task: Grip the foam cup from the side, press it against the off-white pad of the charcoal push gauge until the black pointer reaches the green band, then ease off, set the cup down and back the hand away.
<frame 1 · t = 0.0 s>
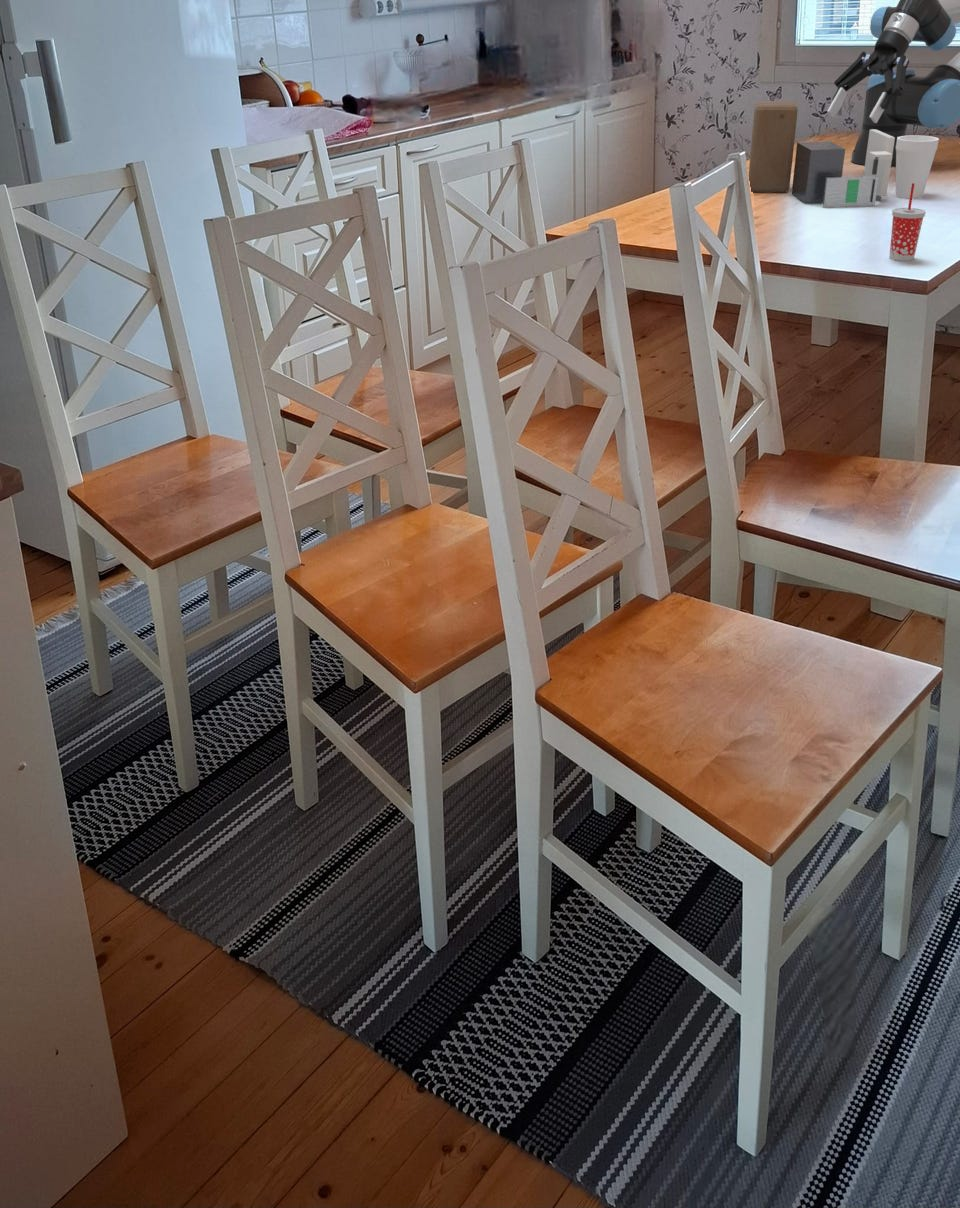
hand: (851, 117, 292), 15 cm above the table, tool tilted 35°, fingers open, 13 cm apart
beverage cup: (901, 259, 230), on the table
wooden block: (767, 190, 293), on the table
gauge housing: (876, 196, 282), on the table
foam cup: (908, 196, 282), on the table
gauge slider: (872, 164, 276), point 8 cm above the table, slide at 0.0 cm
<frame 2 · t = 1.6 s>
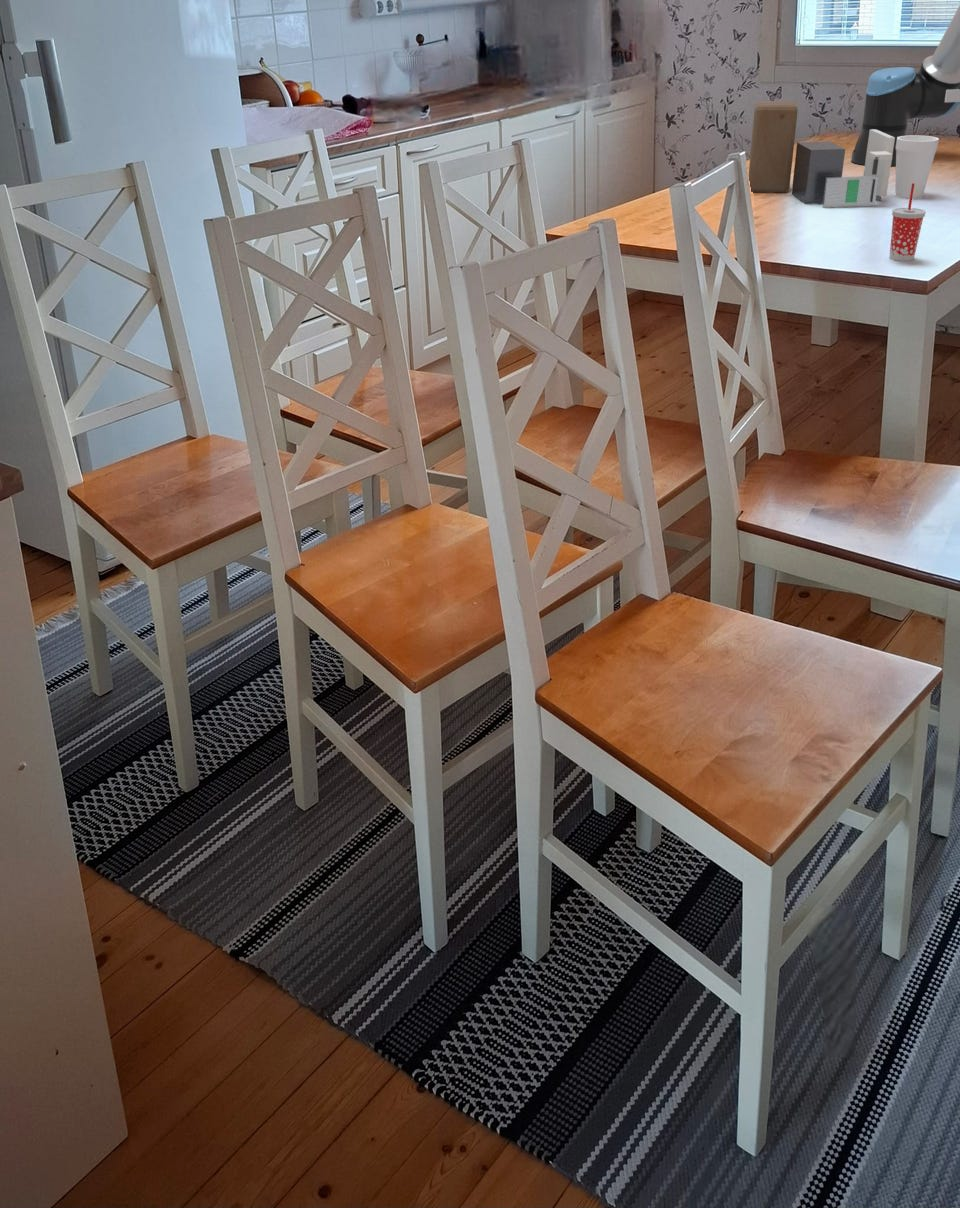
hand: (956, 98, 272), 21 cm above the table, tool horizontal, fingers open, 13 cm apart
nothing on the table moved.
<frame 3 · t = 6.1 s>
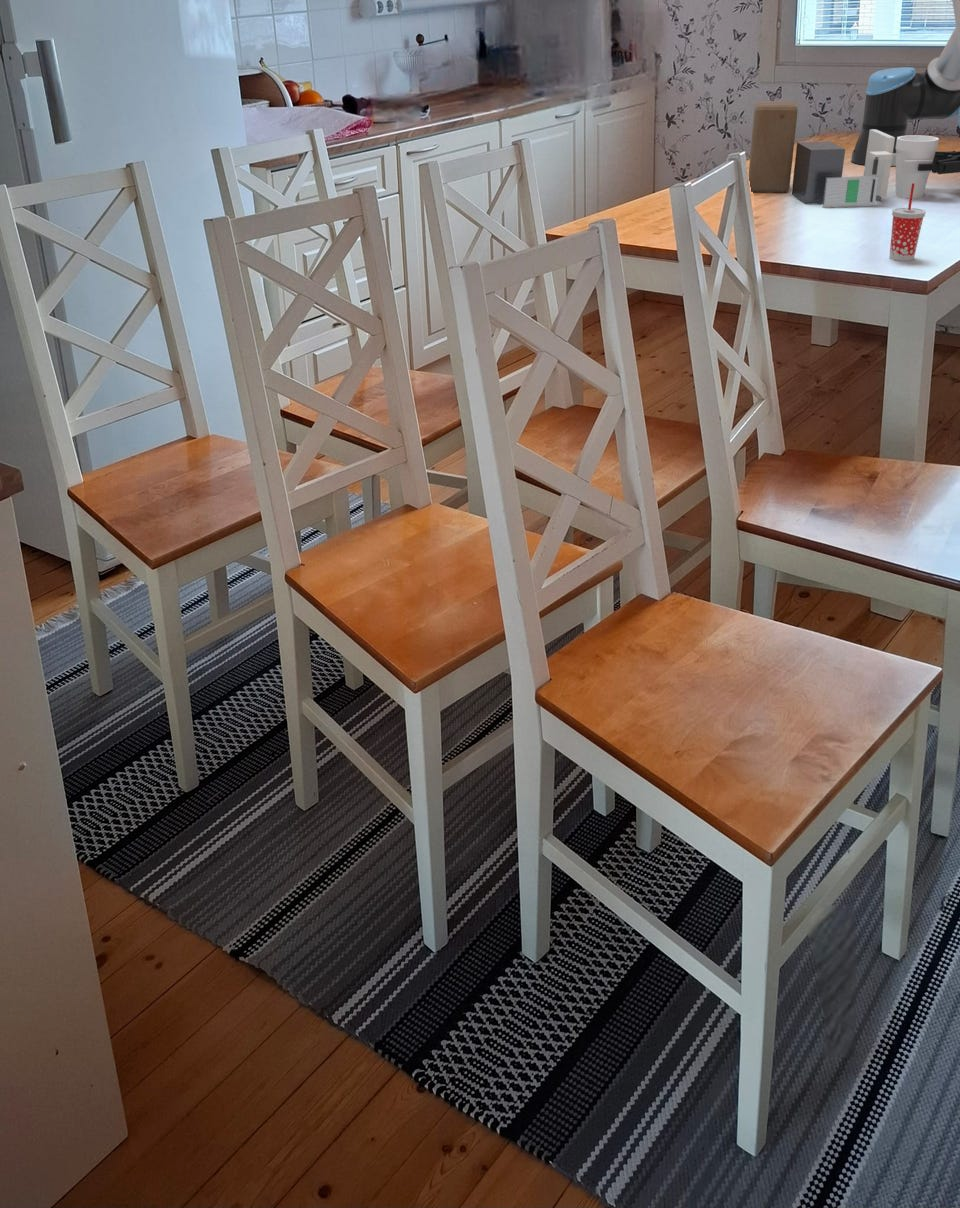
hand: (895, 163, 278), 8 cm above the table, tool horizontal, fingers closed on foam cup, 9 cm apart
foam cup: (908, 196, 282), on the table, touching gripper
everything else where it was.
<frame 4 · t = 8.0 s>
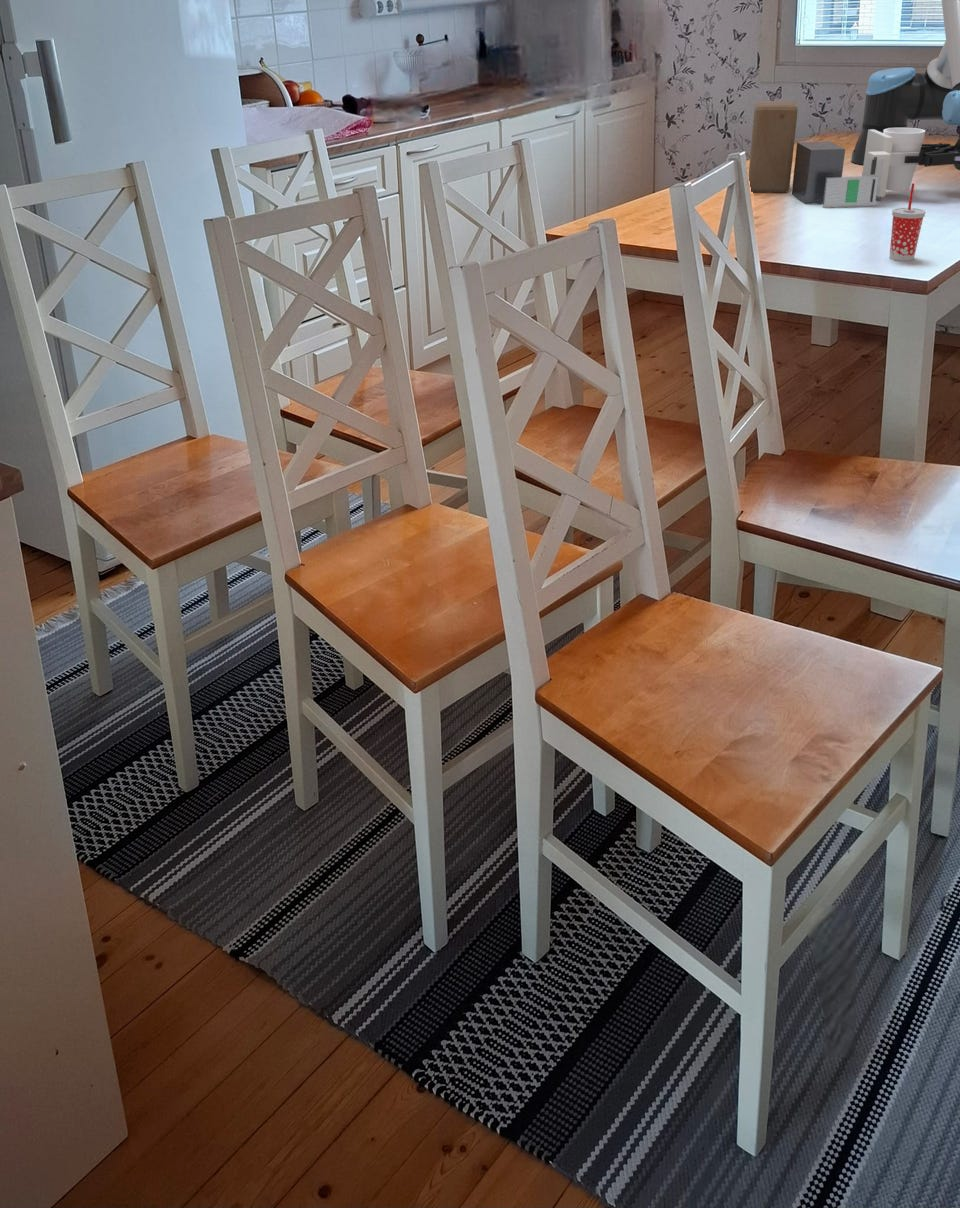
hand: (882, 155, 277), 9 cm above the table, tool horizontal, fingers closed on foam cup, 9 cm apart
foam cup: (895, 189, 281), point 2 cm above the table, touching gripper
gauge slider: (870, 164, 276), point 8 cm above the table, slide at 0.4 cm, touching gripper
everything else where it was.
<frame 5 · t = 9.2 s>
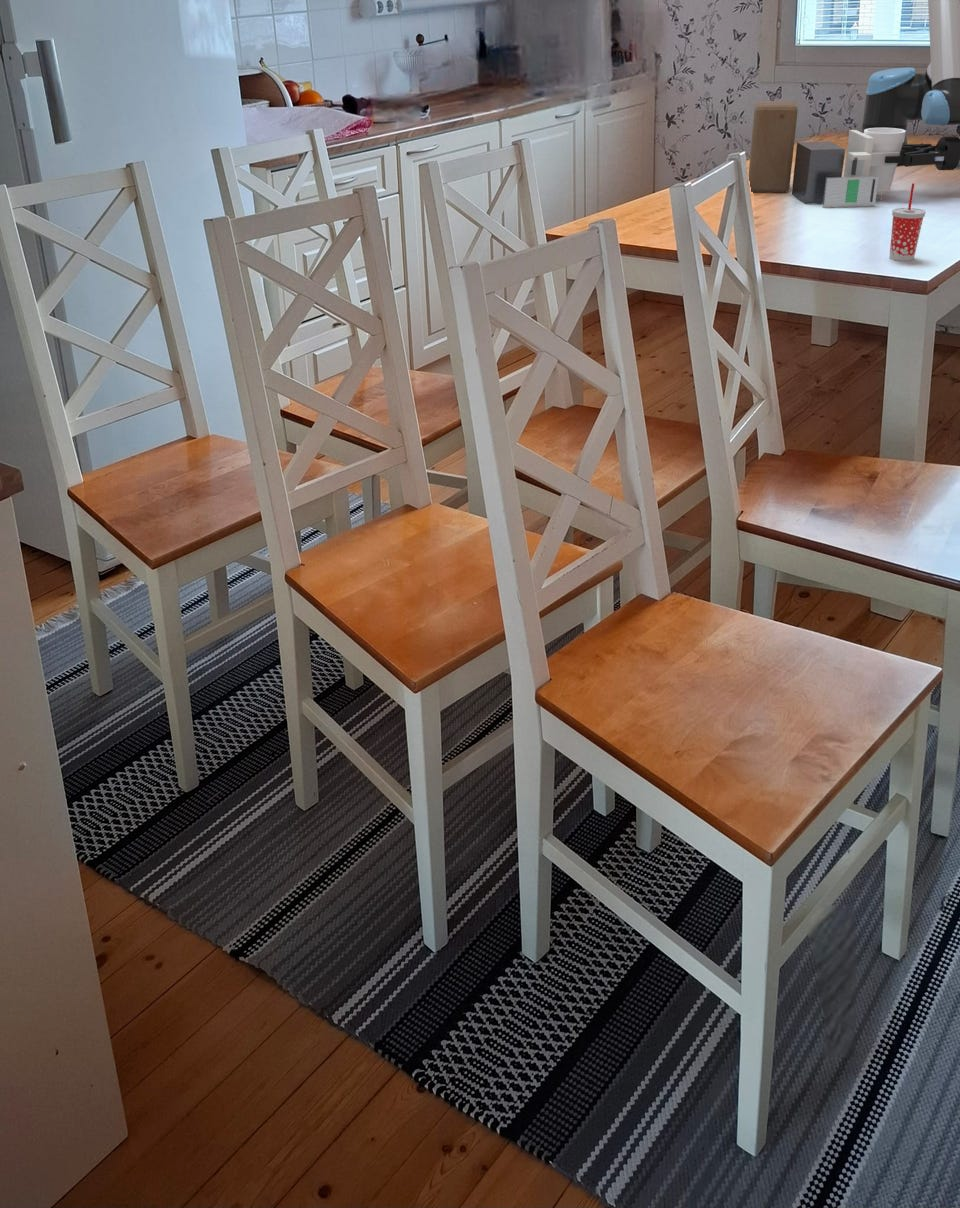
hand: (863, 155, 277), 9 cm above the table, tool horizontal, fingers closed on foam cup, 9 cm apart
foam cup: (876, 189, 281), point 2 cm above the table, touching gauge slider, gripper
gauge slider: (852, 164, 276), point 8 cm above the table, slide at 4.9 cm, touching foam cup
everything else where it was.
when the fingers open (8 cm above the table, at t = 11.8 s): foam cup stays where it is, on the table.
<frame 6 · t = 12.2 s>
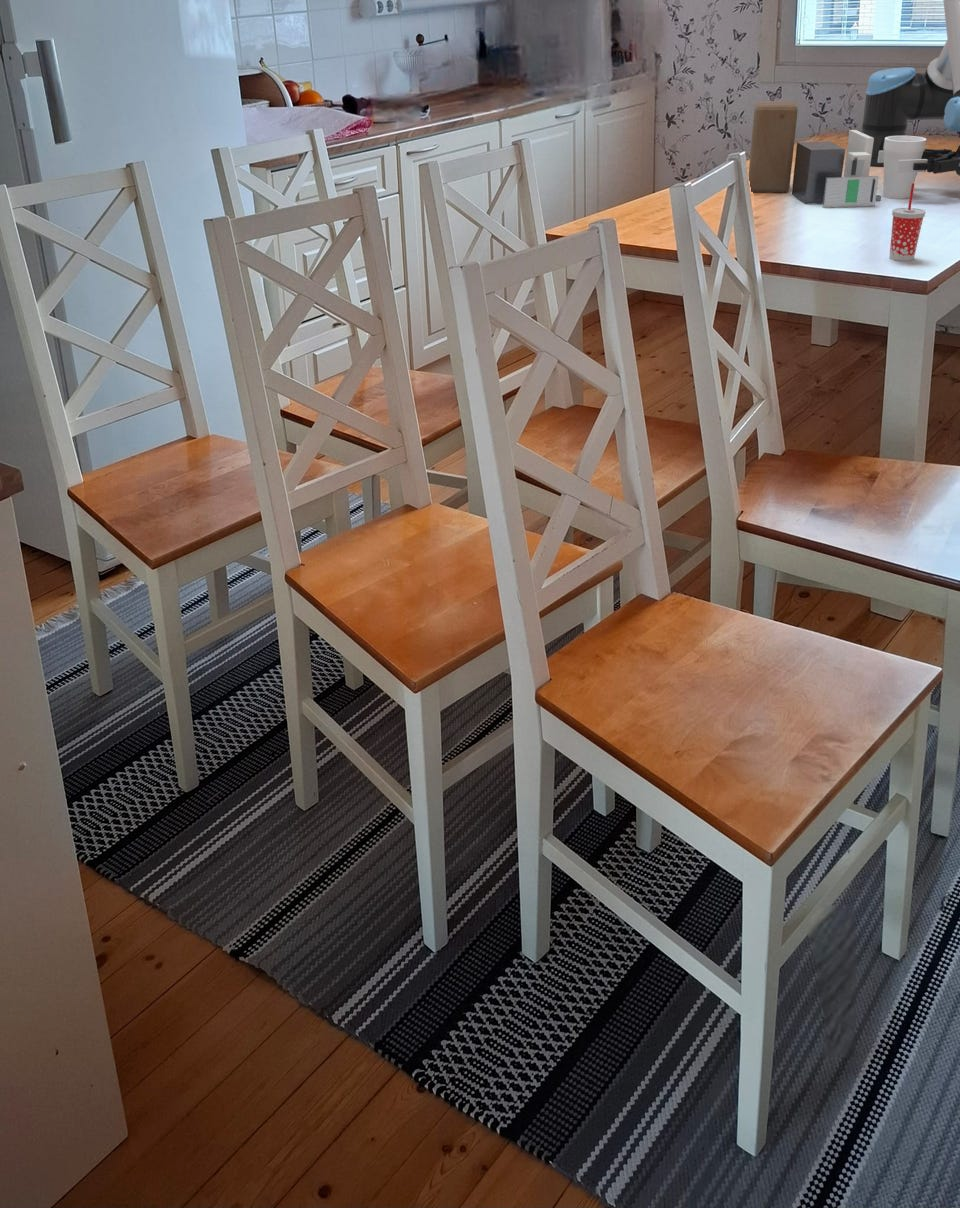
hand: (888, 161, 278), 8 cm above the table, tool horizontal, fingers open, 13 cm apart
foam cup: (896, 196, 282), on the table
gauge slider: (851, 164, 276), point 8 cm above the table, slide at 4.9 cm
everything else where it was.
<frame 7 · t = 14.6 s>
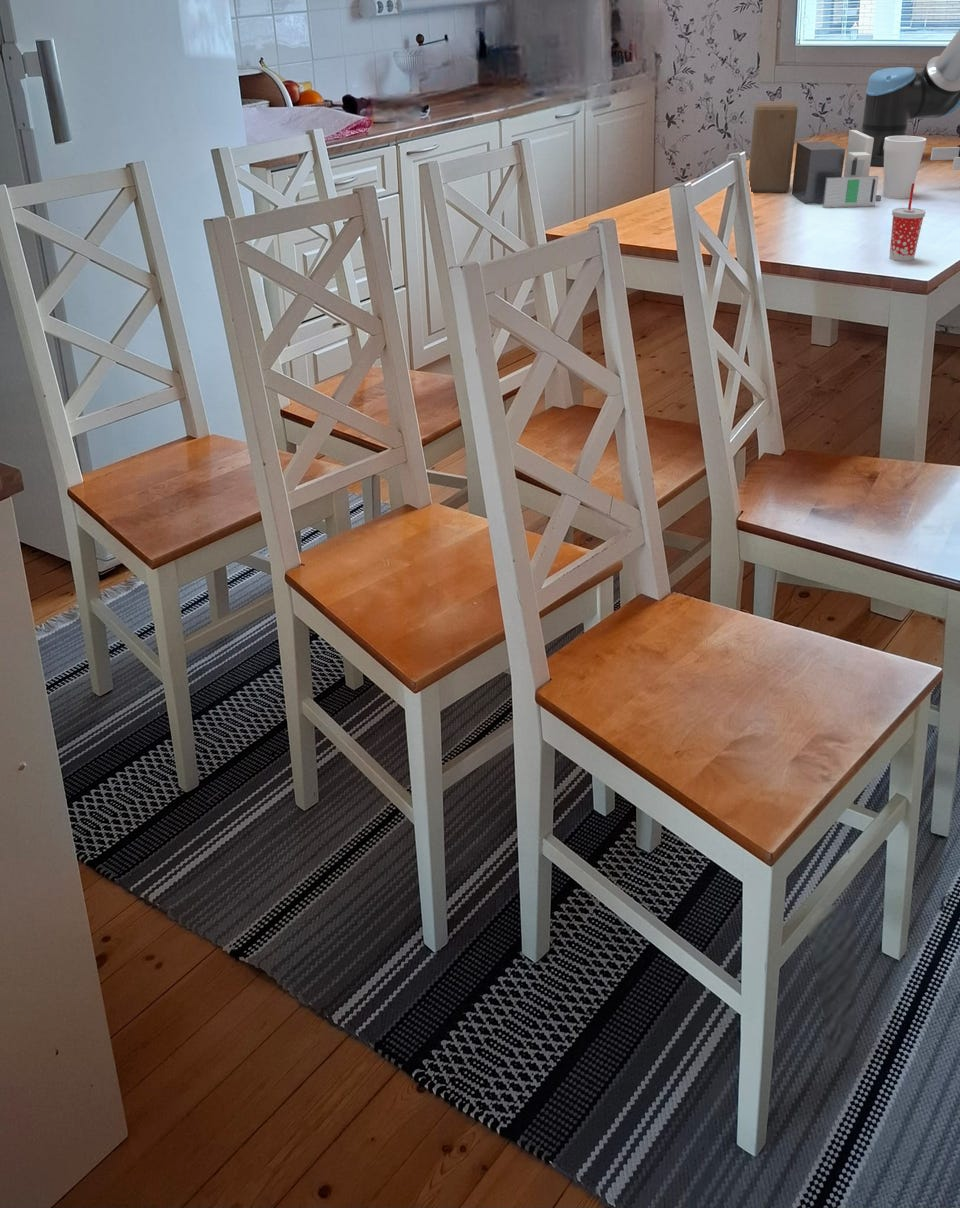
hand: (942, 158, 278), 8 cm above the table, tool horizontal, fingers open, 13 cm apart
nothing on the table moved.
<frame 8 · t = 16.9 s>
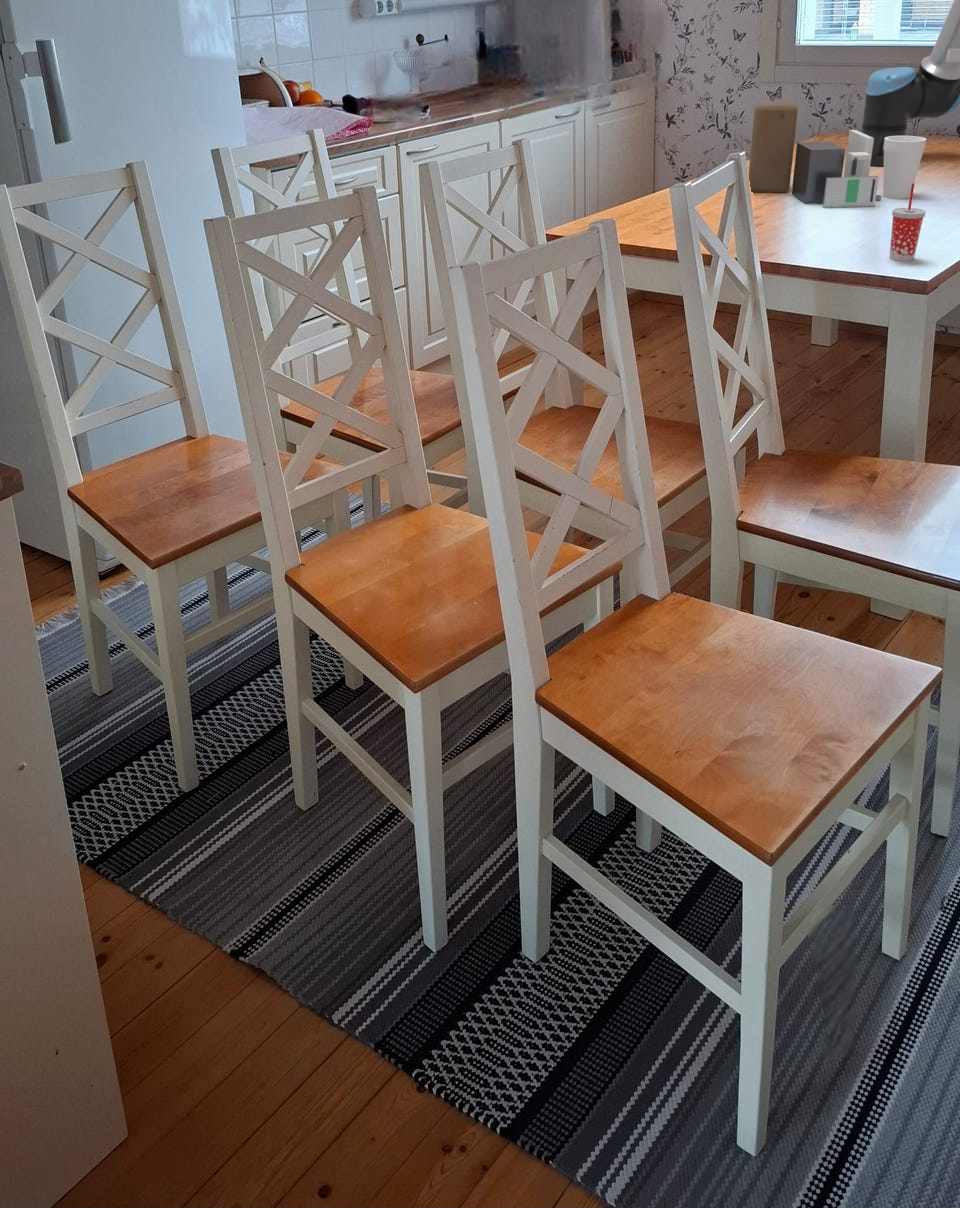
hand: (959, 58, 268), 30 cm above the table, tool horizontal, fingers open, 13 cm apart
nothing on the table moved.
at the end: gauge slider slide at 4.9 cm; foam cup tilted 0°; the gripper is holding nothing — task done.
